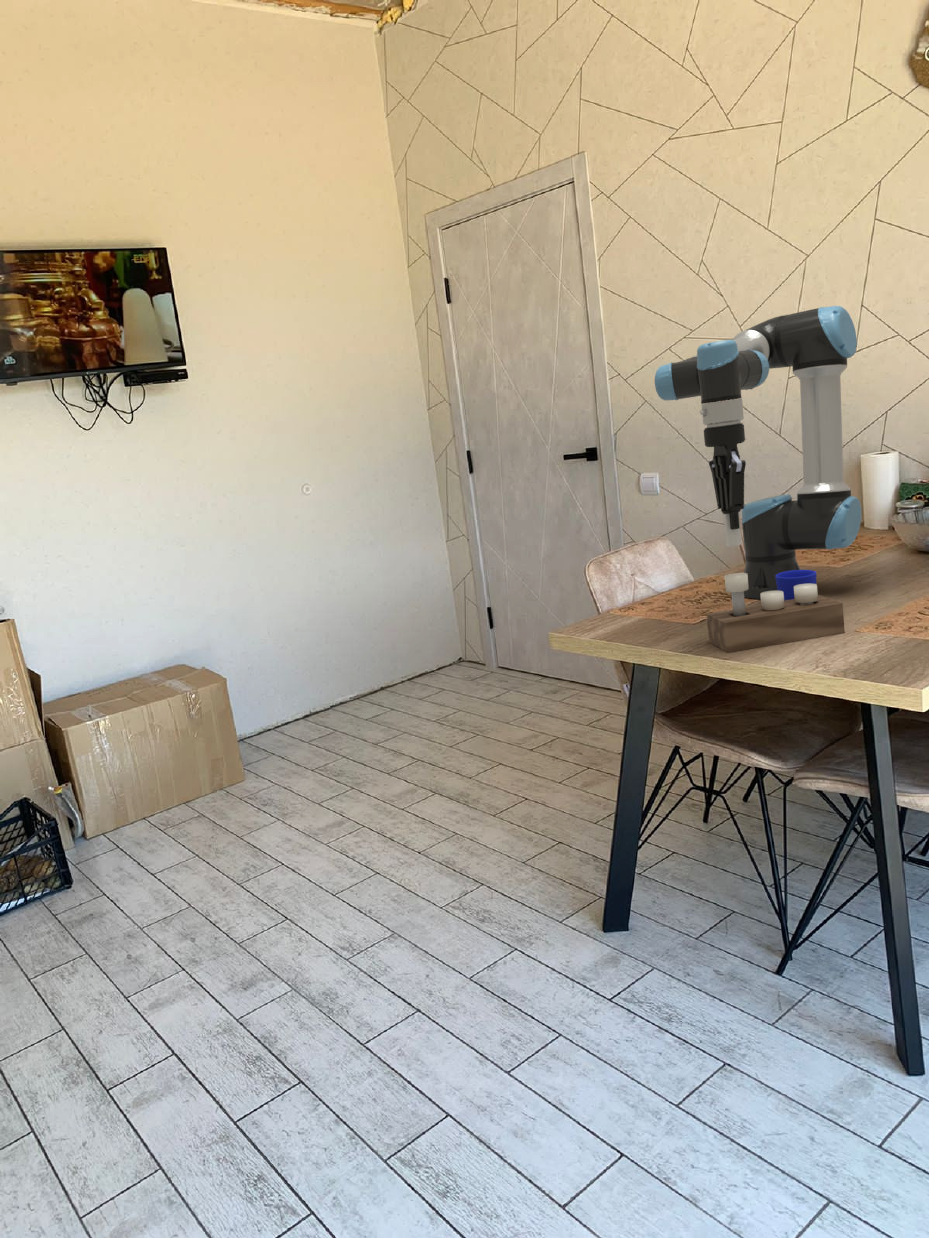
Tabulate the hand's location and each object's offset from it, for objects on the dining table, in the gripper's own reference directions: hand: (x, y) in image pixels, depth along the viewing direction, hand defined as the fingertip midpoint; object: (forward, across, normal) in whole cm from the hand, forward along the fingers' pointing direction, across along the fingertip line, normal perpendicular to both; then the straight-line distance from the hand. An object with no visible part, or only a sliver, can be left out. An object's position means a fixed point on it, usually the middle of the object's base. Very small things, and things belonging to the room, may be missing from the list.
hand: (733, 545), depth 184 cm
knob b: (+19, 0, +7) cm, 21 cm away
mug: (+20, -13, +18) cm, 30 cm away
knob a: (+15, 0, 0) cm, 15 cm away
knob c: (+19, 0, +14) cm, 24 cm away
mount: (+20, 0, +7) cm, 21 cm away
